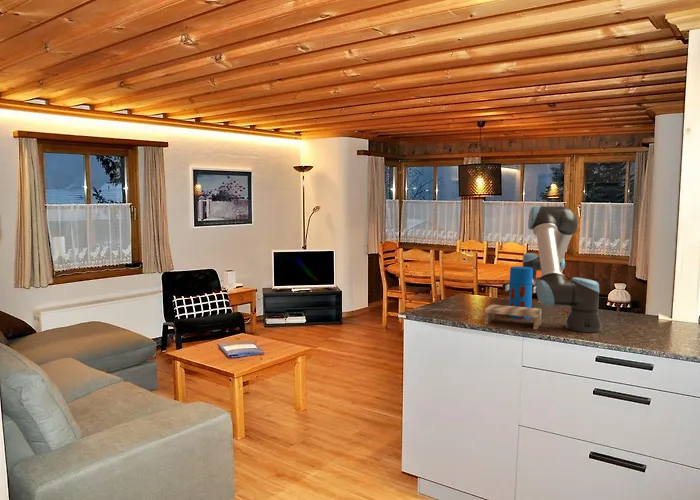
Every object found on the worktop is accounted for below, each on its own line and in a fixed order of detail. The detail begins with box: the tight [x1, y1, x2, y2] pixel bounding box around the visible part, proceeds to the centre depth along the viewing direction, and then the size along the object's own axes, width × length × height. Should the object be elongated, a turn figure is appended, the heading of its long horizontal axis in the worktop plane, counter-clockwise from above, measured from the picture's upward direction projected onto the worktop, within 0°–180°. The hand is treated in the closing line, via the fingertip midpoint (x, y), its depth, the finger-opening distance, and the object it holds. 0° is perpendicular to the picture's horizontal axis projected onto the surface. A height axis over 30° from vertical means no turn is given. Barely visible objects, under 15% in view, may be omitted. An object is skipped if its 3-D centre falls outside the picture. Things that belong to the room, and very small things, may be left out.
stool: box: [484, 303, 542, 330], centre depth 266 cm, size 24×14×7 cm, turn 64°
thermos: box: [508, 266, 533, 320], centre depth 280 cm, size 11×11×25 cm
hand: (519, 289), depth 282 cm, fingers open, 13 cm apart
